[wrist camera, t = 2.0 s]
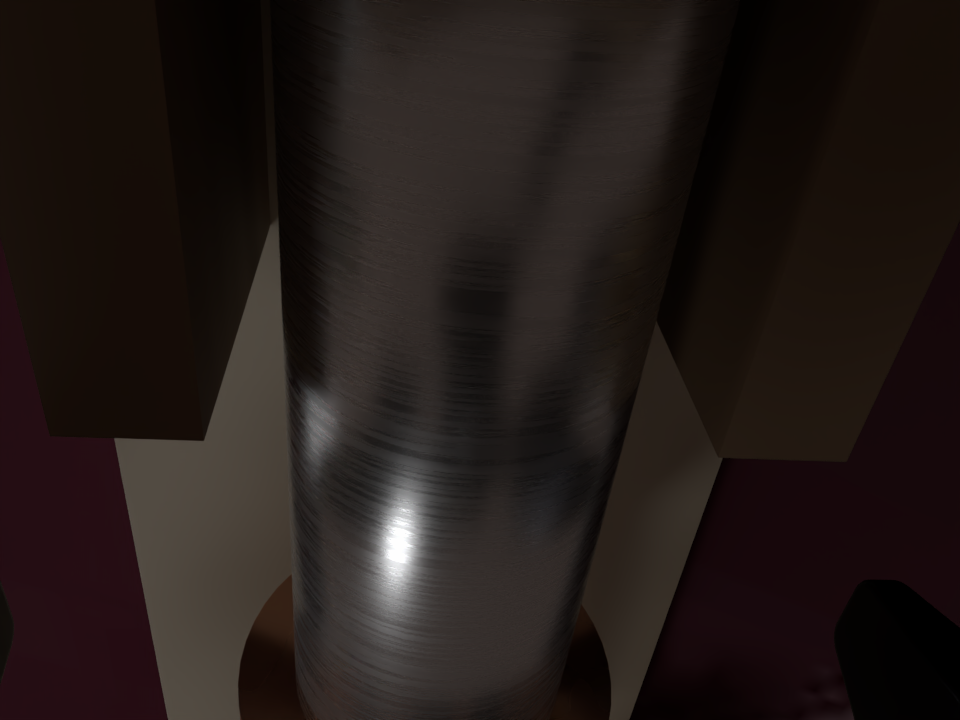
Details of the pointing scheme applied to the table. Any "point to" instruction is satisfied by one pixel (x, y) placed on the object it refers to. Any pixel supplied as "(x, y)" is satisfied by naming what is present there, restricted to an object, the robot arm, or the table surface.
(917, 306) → the guide
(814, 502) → the table surface
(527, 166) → the rod
